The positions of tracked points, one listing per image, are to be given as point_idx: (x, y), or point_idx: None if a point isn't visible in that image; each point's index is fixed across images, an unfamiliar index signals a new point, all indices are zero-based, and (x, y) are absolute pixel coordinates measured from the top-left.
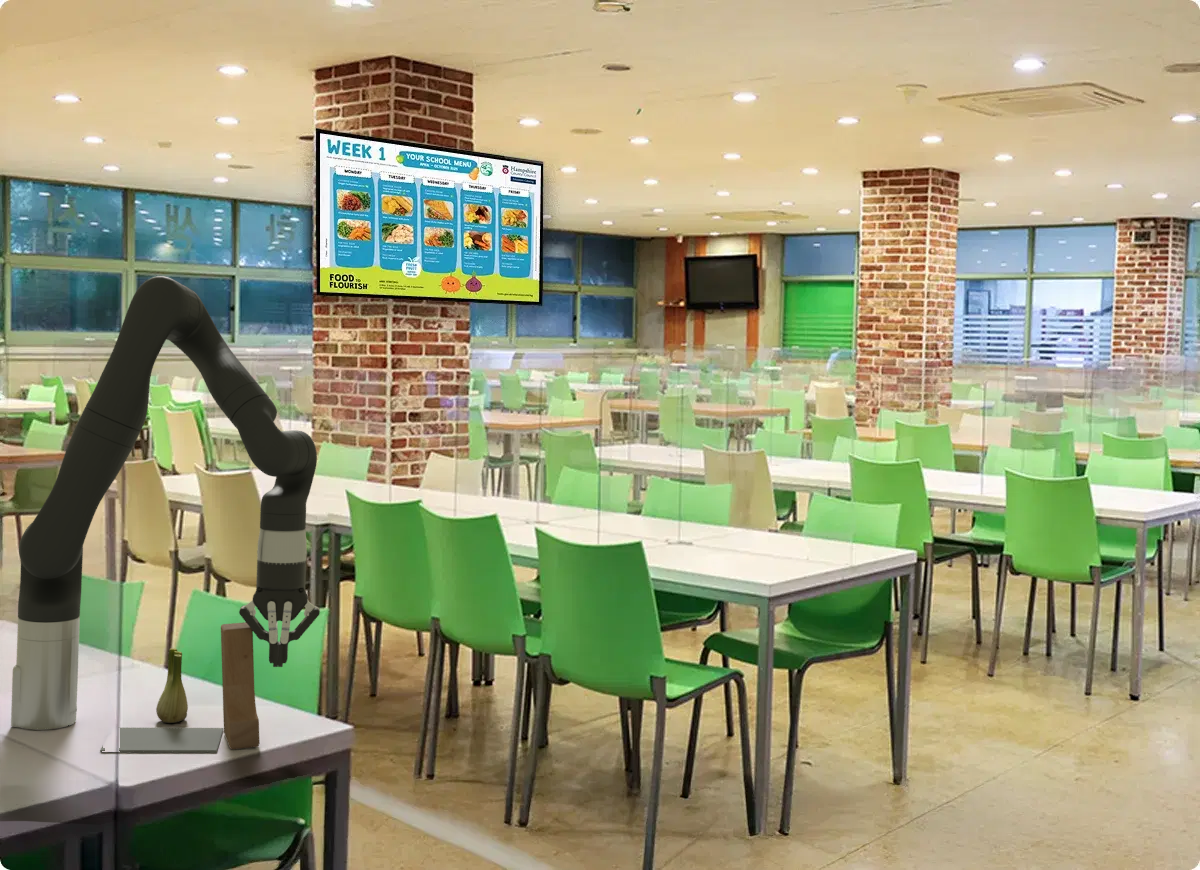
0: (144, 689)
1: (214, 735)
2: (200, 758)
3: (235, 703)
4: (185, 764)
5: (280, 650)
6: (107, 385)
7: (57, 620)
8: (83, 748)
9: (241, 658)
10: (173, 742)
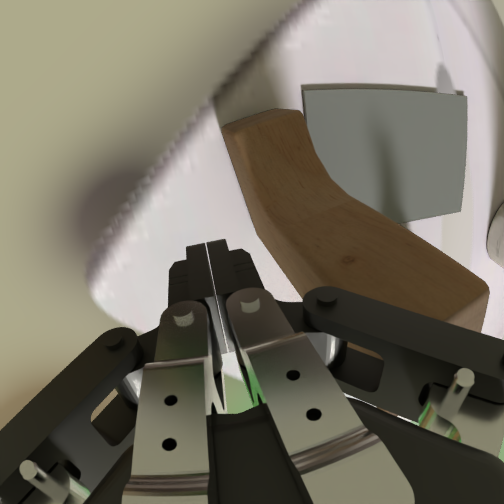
0: None
1: None
2: (325, 55)
3: (310, 182)
4: (343, 21)
5: (200, 280)
6: None
7: None
8: (480, 119)
9: (359, 251)
10: (386, 136)
